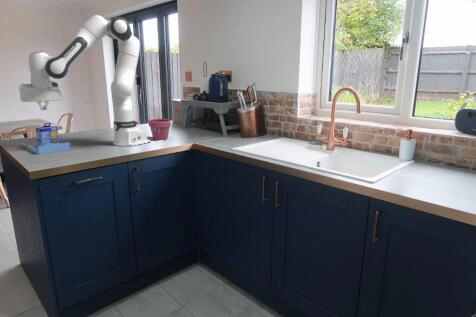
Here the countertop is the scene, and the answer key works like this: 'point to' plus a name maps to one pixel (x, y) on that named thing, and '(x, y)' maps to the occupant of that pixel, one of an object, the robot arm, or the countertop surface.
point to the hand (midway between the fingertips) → (44, 109)
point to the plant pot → (160, 128)
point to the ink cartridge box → (47, 135)
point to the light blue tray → (47, 148)
